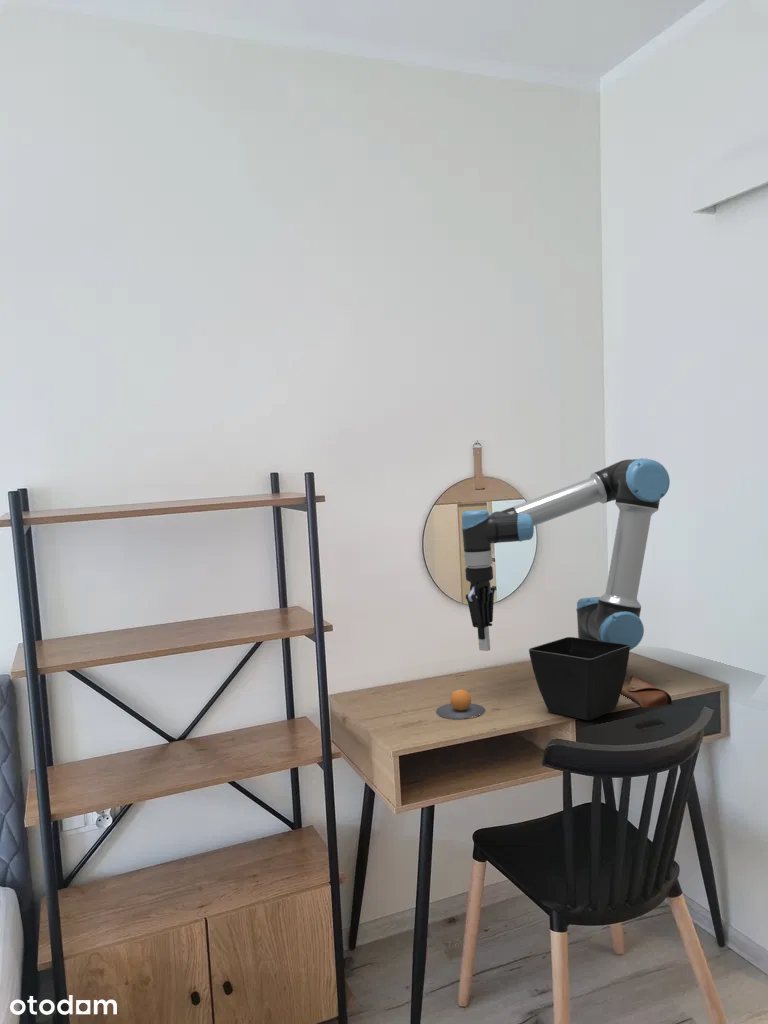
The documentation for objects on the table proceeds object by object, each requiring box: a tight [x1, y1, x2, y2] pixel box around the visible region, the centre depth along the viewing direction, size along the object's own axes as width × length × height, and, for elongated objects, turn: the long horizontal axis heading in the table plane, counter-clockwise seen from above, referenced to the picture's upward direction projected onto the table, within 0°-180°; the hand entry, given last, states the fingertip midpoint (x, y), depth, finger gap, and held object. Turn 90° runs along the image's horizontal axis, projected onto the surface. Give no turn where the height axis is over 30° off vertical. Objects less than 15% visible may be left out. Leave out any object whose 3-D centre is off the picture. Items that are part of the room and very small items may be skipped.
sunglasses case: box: [620, 675, 673, 709], centre depth 205 cm, size 18×7×7 cm
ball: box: [449, 689, 472, 711], centre depth 202 cm, size 6×6×6 cm
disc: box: [435, 702, 486, 720], centre depth 201 cm, size 13×13×1 cm
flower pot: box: [528, 636, 631, 721], centre depth 196 cm, size 19×19×17 cm
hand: (484, 649), depth 212 cm, fingers closed
